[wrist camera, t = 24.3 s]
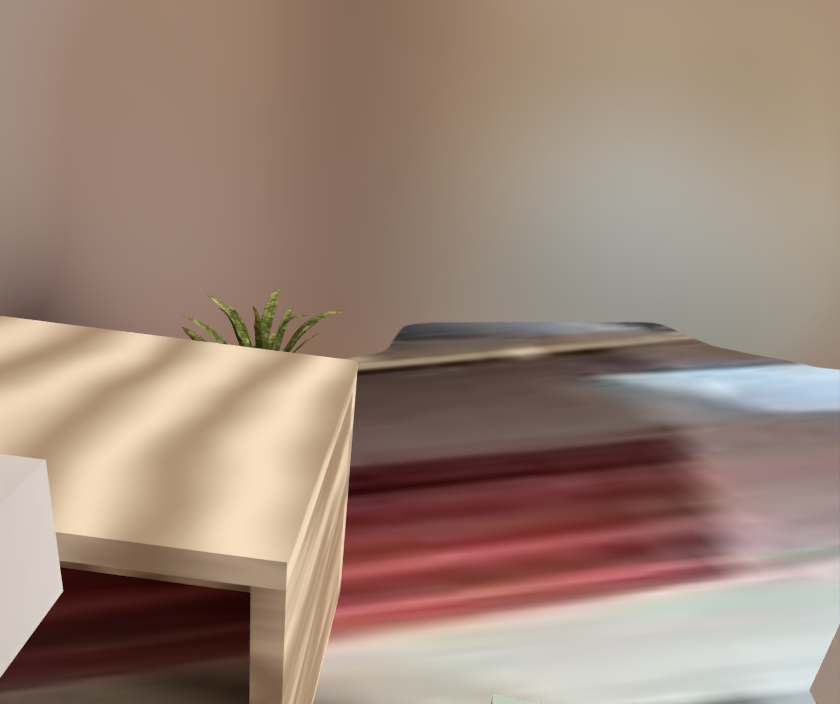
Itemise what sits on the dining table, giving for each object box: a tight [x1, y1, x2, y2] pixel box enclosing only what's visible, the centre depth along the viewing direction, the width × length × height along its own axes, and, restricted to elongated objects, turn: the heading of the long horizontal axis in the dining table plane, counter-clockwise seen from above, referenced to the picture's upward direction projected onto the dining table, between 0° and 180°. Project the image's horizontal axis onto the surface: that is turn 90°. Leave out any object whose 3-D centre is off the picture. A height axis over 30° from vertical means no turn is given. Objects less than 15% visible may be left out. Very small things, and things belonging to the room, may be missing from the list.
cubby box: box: [0, 316, 358, 704], centre depth 43 cm, size 24×20×20 cm
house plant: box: [183, 288, 343, 353], centre depth 68 cm, size 14×14×16 cm
